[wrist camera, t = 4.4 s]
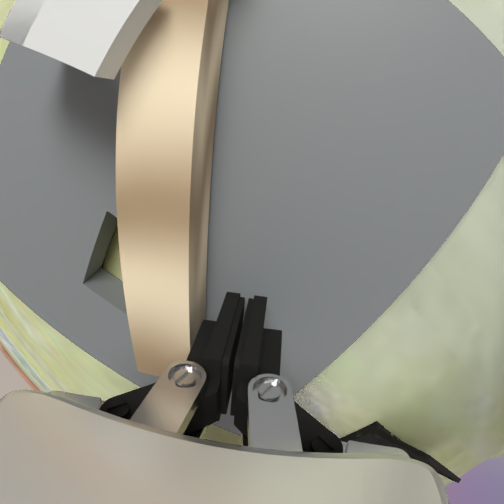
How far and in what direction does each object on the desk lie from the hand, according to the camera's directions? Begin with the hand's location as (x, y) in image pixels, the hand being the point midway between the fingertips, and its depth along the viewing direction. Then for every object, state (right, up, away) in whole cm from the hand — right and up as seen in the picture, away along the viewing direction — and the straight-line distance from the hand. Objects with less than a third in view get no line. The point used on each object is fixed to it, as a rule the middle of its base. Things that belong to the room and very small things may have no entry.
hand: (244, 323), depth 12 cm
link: (-2, +8, -2) cm, 8 cm away
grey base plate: (-3, +8, 0) cm, 8 cm away
